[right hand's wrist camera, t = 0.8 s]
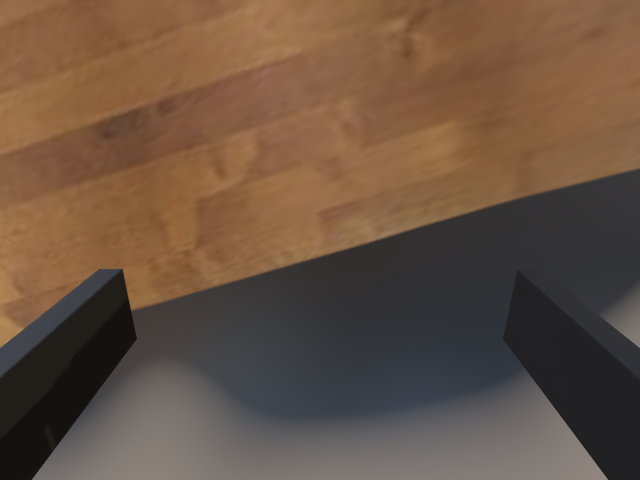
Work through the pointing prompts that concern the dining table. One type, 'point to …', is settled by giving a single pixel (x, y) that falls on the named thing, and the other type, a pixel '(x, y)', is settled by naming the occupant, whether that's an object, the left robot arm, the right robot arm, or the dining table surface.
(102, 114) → the dining table surface
